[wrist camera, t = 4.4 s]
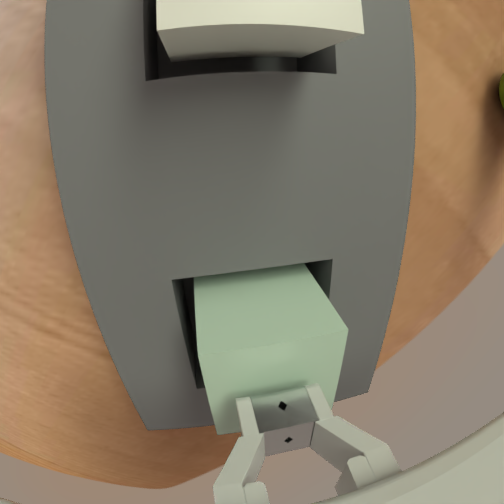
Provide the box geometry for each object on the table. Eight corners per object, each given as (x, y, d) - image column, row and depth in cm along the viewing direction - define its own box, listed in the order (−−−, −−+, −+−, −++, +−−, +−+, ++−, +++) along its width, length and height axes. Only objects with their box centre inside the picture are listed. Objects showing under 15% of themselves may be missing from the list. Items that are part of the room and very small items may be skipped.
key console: (343, -64, 10) (386, -97, 6) (339, 344, 22) (367, 392, 18) (92, -59, 8) (66, -100, 4) (150, 373, 20) (147, 430, 16)
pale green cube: (303, 262, 15) (348, 329, 10) (299, 342, 17) (330, 412, 12) (193, 275, 14) (197, 354, 9) (207, 356, 16) (217, 434, 12)
